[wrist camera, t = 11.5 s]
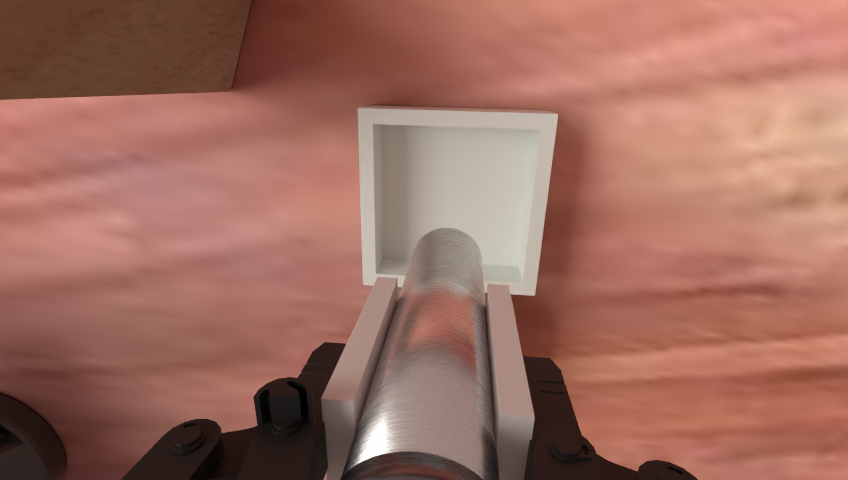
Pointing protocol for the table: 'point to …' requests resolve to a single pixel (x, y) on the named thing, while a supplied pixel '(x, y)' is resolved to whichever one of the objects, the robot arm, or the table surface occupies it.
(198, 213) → the table surface
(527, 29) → the table surface
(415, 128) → the tray
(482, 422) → the glass vial with cap
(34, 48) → the wooden block
